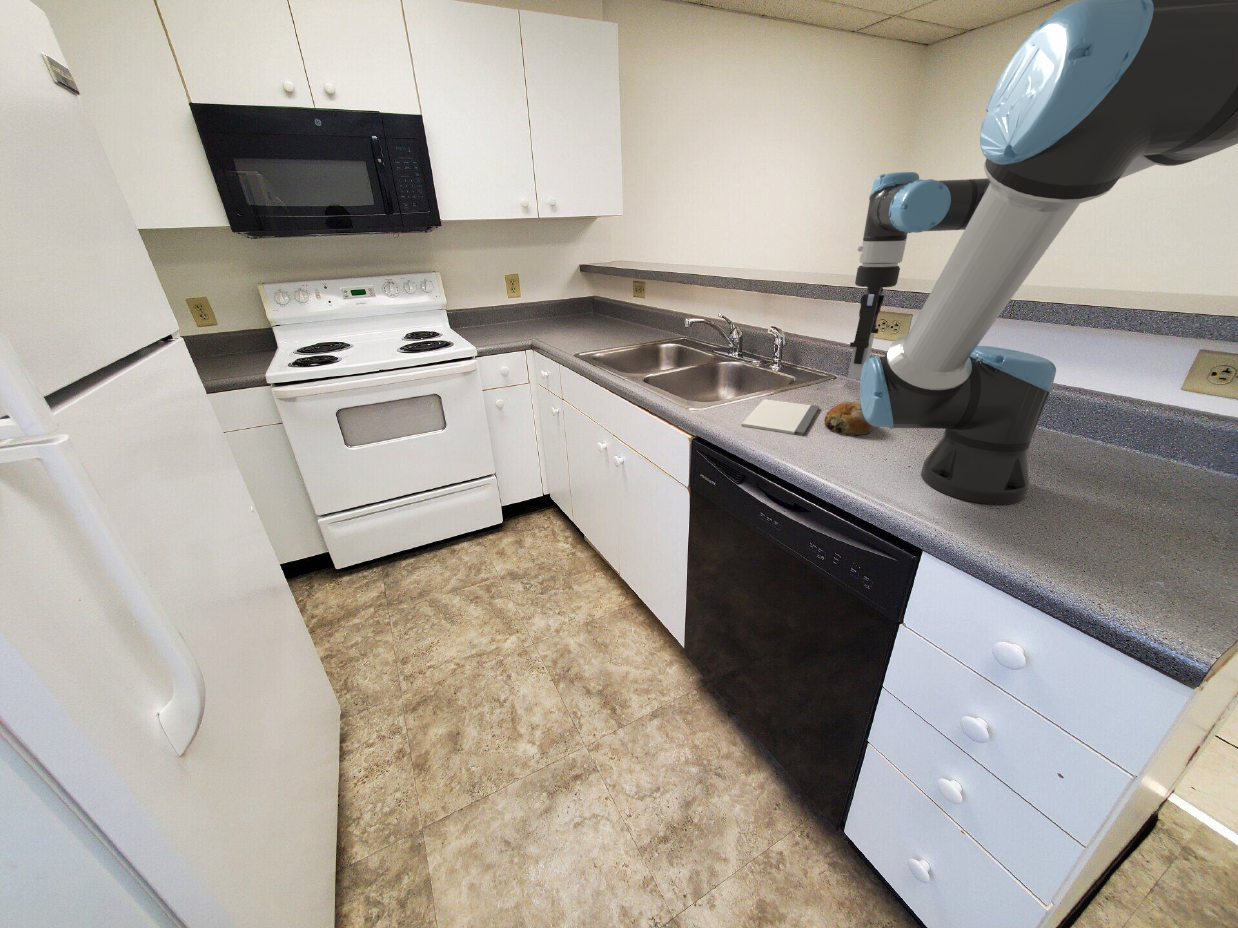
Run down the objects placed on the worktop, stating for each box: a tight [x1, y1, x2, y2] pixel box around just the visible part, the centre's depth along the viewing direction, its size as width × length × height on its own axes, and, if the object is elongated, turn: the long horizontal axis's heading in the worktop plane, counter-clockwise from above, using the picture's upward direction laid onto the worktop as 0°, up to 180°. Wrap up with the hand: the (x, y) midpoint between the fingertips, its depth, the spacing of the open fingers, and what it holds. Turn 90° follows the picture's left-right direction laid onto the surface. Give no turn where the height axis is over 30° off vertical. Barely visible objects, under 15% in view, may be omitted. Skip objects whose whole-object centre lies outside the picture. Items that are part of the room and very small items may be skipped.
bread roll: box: [823, 401, 874, 436], centre depth 108 cm, size 10×10×8 cm
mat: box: [741, 398, 820, 437], centre depth 116 cm, size 20×14×1 cm
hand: (858, 370), depth 103 cm, fingers open, 13 cm apart
